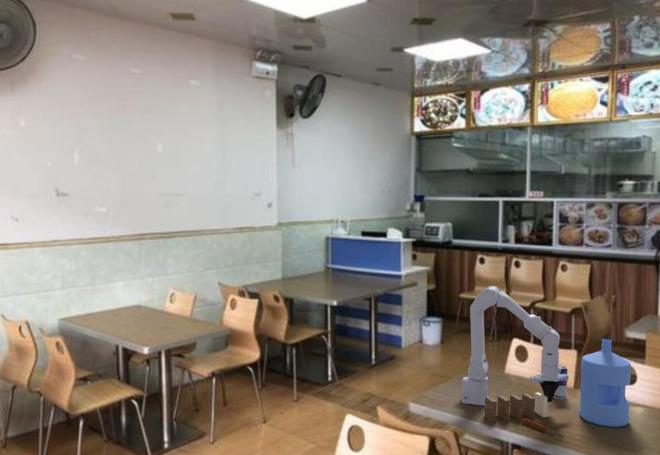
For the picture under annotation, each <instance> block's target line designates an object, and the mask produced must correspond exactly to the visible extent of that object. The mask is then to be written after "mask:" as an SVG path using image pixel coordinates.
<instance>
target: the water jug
mask: <svg viewBox="0 0 660 455" xmlns="http://www.w3.org/2000/svg"><path fill="white" fill-rule="evenodd" d="M612 341H613V340H612V339H607V338H601V348H600V349H601V350H599V351H595V352H593V353H588V354H585V355H583V356H582V357H581V363H580V370H581V372H580V377H581V378H580V387H579V388H580V389H579V391H580V396H579V397H580V401H579V411H578V413H579V415H580V417H581V418H582V419H583V420H585V421H587V422H589V423H591V424H595V425H598V426H602V427H610V428H619V427H624V426H627V425H628V424H629V422H630V402H629V400H628V399H627V398H626V387H627V386H629V385H630V384H631V376H632V368H631V367H632V364H631V362H630V361H629V360H627V359H625V358H623V357H621V356H620V355H619V354H616V353H614V352H612V346H613V345H612Z"/></svg>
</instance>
